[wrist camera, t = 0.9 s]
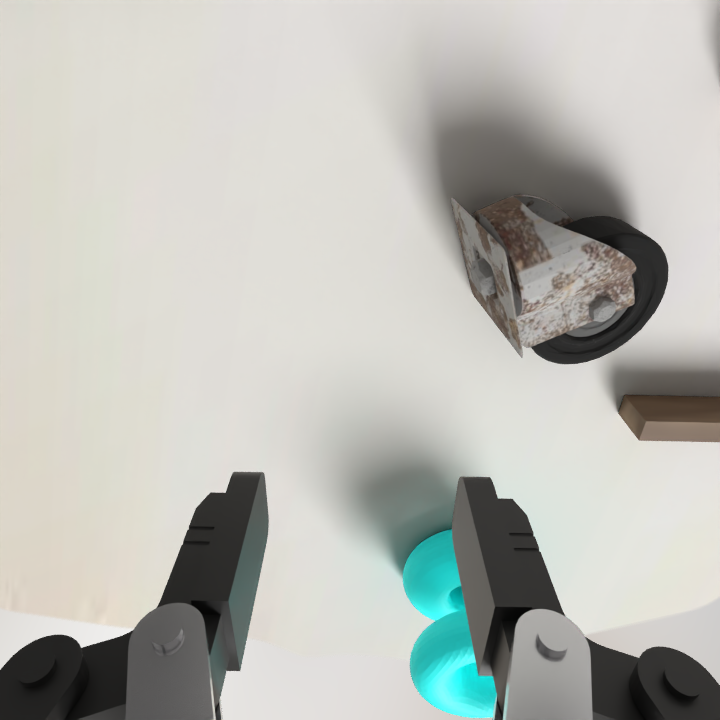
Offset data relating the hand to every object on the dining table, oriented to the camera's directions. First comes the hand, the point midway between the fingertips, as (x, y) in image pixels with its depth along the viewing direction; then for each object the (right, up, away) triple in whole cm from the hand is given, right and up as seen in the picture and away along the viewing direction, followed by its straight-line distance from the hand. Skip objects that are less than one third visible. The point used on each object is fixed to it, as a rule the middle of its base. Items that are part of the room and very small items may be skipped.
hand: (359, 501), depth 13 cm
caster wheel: (+11, +10, +17) cm, 23 cm away
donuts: (+8, -13, +30) cm, 34 cm away
